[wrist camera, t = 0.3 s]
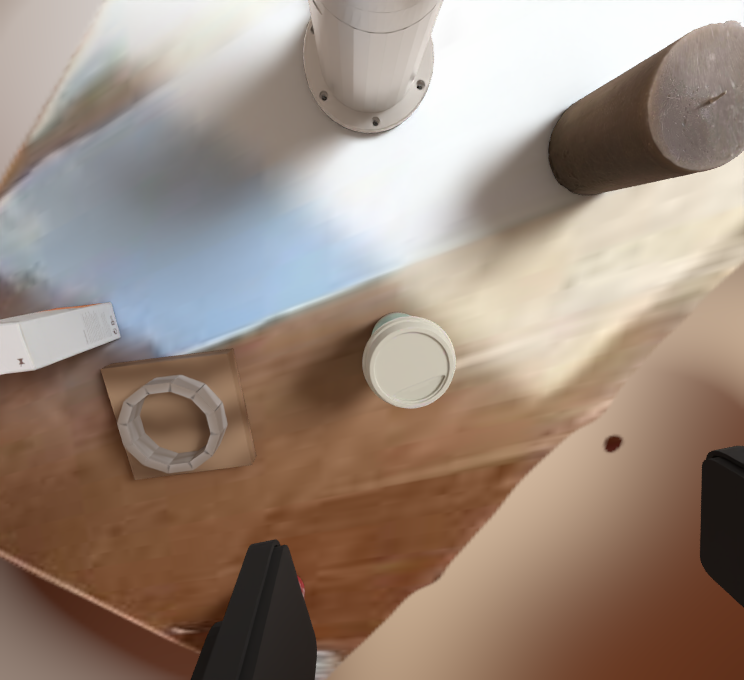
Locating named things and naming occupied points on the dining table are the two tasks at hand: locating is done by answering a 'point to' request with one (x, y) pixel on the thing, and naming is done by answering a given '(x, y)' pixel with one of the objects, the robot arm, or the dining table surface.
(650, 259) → the dining table surface
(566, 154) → the pillar candle
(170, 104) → the dining table surface
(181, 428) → the ring stand
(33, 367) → the skincare box
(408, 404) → the coffee cup
